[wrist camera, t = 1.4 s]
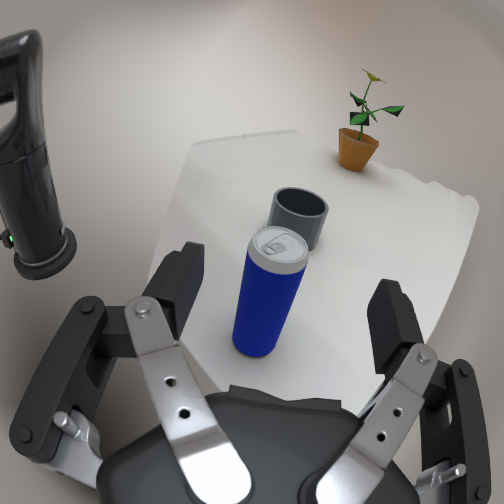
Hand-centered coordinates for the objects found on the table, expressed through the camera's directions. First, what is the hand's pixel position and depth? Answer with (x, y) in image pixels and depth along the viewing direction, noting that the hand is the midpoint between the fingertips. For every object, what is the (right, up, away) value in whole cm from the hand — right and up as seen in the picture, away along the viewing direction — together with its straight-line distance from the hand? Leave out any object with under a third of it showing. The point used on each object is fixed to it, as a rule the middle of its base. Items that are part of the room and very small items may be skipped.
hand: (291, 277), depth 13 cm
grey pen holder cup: (+5, +4, +38) cm, 38 cm away
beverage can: (-2, -9, +21) cm, 23 cm away
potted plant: (+28, +27, +69) cm, 79 cm away
